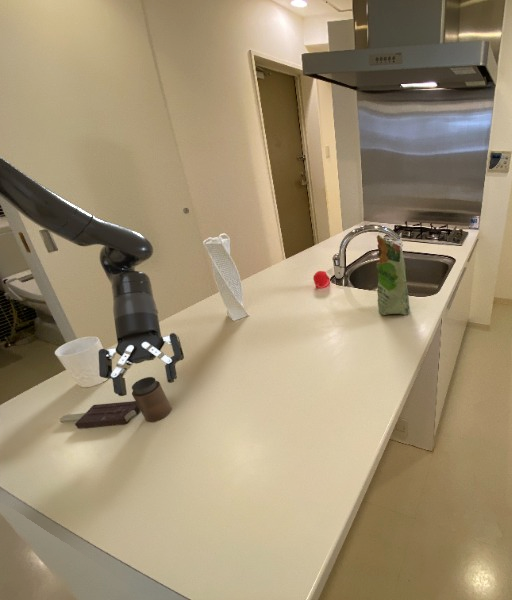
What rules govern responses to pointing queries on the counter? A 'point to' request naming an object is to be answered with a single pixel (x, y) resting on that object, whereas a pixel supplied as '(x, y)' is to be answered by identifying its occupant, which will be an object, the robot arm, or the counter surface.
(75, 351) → the white cup
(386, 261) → the pouch
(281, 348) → the counter surface
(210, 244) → the skyscraper
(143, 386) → the pepper mill
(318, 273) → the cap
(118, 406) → the ice cream bar
